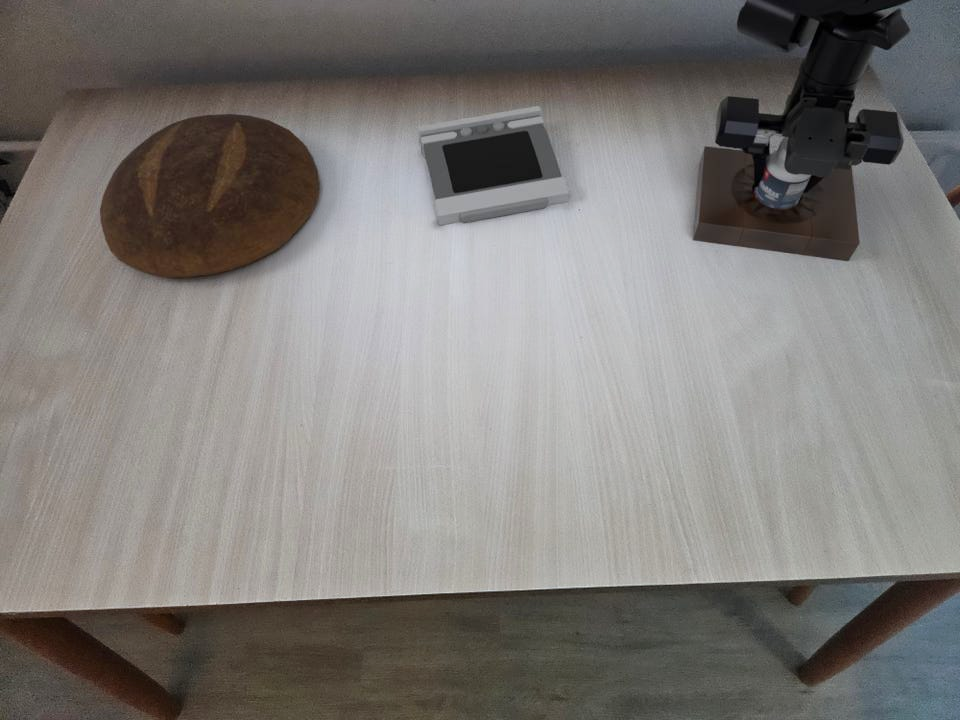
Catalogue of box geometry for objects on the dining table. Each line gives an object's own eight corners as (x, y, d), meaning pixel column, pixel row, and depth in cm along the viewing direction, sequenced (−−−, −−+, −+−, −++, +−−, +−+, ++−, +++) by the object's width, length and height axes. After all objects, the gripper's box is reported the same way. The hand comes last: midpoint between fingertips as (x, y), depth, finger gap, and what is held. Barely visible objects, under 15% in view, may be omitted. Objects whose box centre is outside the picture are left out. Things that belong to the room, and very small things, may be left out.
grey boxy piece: (538, 105, 89) (571, 176, 79) (538, 135, 93) (569, 206, 83) (417, 126, 88) (435, 201, 78) (422, 155, 92) (439, 230, 82)
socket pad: (841, 180, 83) (851, 162, 81) (848, 261, 76) (859, 243, 74) (699, 164, 86) (704, 146, 84) (692, 240, 79) (698, 222, 77)
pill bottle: (742, 195, 81) (765, 136, 74) (778, 183, 82) (804, 124, 74) (767, 223, 78) (793, 165, 71) (803, 211, 79) (833, 152, 72)
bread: (82, 295, 79) (37, 246, 72) (136, 148, 94) (104, 95, 86) (311, 280, 79) (290, 230, 71) (330, 135, 93) (314, 81, 86)
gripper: (734, 109, 62) (696, 224, 75) (944, 130, 59) (867, 246, 72) (737, 44, 68) (701, 161, 81) (928, 59, 65) (859, 179, 78)
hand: (779, 187), depth 78 cm, fingers closed on pill bottle, 5 cm apart
